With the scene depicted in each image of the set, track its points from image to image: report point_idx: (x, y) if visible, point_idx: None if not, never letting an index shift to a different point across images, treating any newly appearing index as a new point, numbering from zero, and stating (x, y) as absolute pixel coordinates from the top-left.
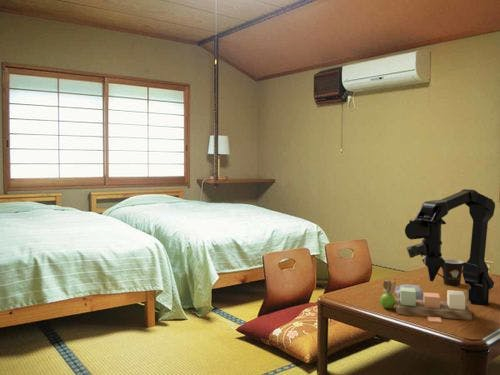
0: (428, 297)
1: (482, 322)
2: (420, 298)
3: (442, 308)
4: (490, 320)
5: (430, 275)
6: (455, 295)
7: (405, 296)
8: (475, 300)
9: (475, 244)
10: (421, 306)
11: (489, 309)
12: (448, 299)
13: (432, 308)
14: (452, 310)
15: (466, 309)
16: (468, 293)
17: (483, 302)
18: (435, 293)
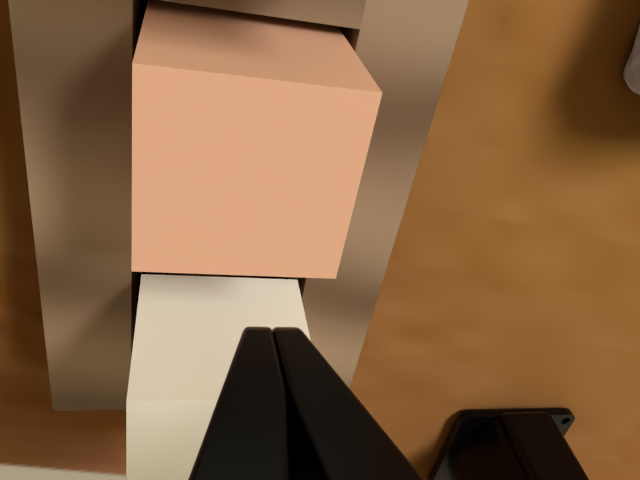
0: (132, 115)
1: (28, 411)
2: (637, 66)
3: (120, 211)
4: (99, 453)
5: (201, 457)
6: (128, 440)
7: None
8: (473, 449)
9: None
10: None
11: None
12: (209, 332)
13: (85, 99)
14: (76, 289)
15: None
16: (533, 458)
17: (450, 472)
18: (329, 247)
